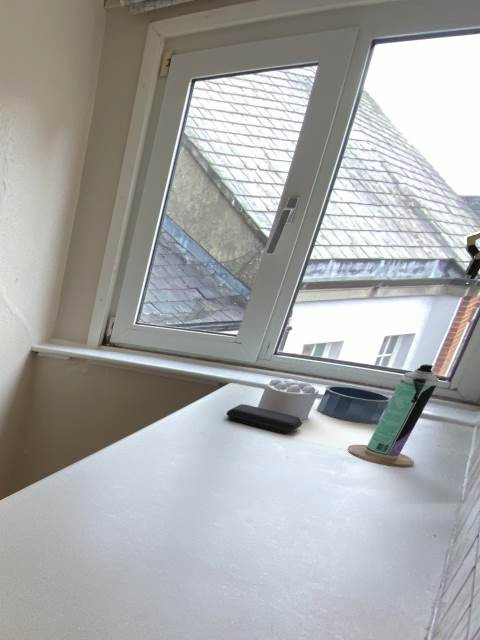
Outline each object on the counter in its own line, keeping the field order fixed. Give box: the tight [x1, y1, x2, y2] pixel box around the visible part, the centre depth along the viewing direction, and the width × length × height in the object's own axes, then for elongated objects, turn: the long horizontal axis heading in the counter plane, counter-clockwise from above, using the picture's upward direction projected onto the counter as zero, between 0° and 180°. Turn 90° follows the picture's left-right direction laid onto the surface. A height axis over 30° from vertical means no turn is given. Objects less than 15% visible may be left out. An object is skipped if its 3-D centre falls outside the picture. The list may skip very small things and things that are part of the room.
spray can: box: [365, 363, 440, 459], centre depth 116 cm, size 6×6×20 cm
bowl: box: [316, 385, 392, 425], centre depth 147 cm, size 14×14×6 cm
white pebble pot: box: [257, 378, 320, 421], centre depth 144 cm, size 10×13×9 cm
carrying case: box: [226, 404, 303, 434], centre depth 138 cm, size 11×3×15 cm
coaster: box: [347, 444, 415, 468], centre depth 121 cm, size 11×11×1 cm
